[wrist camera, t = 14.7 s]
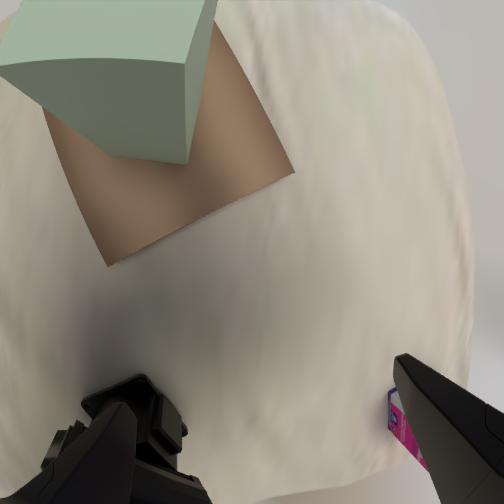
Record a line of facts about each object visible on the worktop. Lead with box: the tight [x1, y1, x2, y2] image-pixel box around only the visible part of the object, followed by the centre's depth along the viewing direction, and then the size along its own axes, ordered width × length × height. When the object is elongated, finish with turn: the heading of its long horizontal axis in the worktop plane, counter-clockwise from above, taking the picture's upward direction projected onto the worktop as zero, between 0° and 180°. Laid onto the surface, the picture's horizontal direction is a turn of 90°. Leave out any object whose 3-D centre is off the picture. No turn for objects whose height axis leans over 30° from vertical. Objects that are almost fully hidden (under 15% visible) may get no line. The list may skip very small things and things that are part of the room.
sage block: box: [0, 0, 218, 165], centre depth 10 cm, size 4×4×12 cm
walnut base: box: [42, 21, 295, 267], centre depth 17 cm, size 12×12×3 cm
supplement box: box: [389, 388, 429, 472], centre depth 20 cm, size 6×6×12 cm
